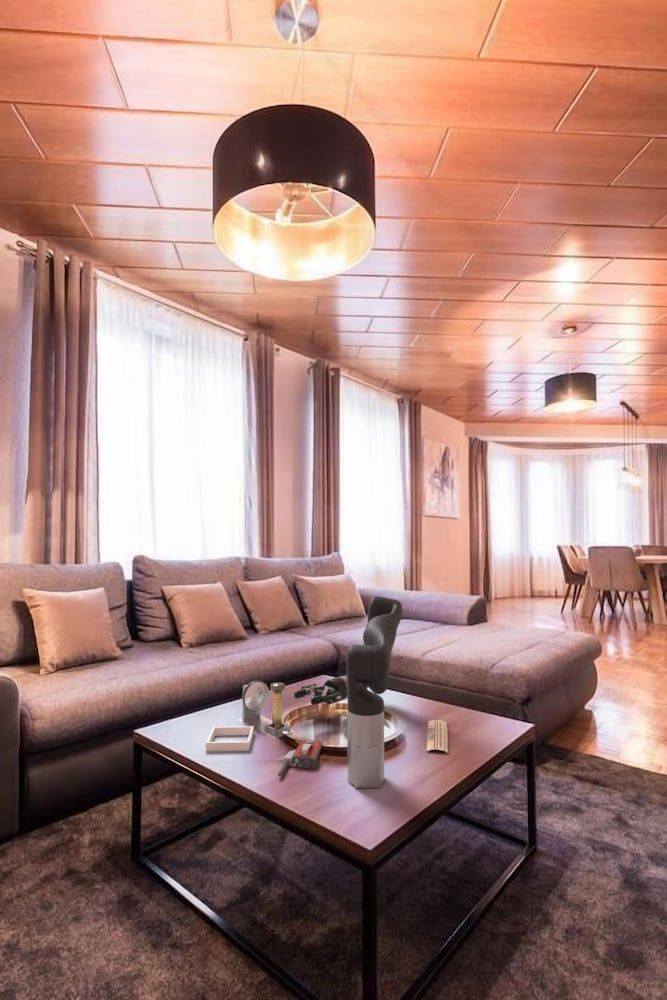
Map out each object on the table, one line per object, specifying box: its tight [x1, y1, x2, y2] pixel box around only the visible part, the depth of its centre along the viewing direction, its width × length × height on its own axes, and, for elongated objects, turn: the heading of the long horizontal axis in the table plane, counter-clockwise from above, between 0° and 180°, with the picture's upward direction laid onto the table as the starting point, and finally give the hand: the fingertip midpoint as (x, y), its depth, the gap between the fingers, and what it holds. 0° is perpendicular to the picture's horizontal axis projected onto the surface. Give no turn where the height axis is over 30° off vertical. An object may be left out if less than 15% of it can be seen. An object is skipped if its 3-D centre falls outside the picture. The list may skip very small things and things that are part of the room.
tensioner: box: [238, 679, 297, 739], centre depth 168 cm, size 20×10×14 cm, turn 41°
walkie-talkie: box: [277, 739, 323, 777], centre depth 144 cm, size 9×4×20 cm
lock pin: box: [269, 682, 286, 729], centre depth 164 cm, size 4×4×14 cm
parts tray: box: [205, 725, 255, 752], centre depth 155 cm, size 12×12×4 cm
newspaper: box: [426, 719, 449, 754], centre depth 162 cm, size 24×7×2 cm, turn 169°
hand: (303, 698), depth 170 cm, fingers open, 8 cm apart
